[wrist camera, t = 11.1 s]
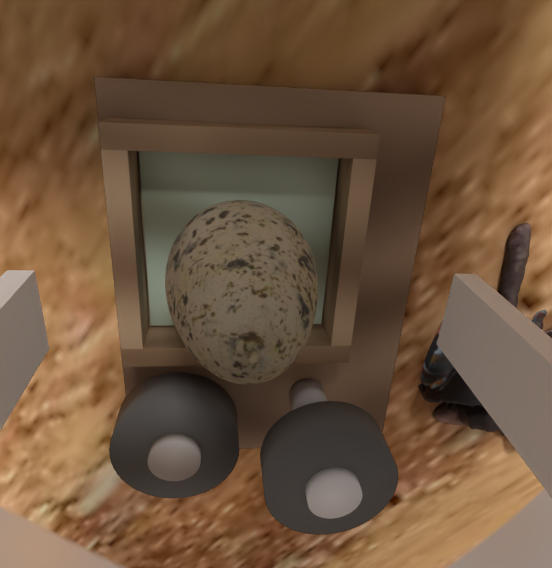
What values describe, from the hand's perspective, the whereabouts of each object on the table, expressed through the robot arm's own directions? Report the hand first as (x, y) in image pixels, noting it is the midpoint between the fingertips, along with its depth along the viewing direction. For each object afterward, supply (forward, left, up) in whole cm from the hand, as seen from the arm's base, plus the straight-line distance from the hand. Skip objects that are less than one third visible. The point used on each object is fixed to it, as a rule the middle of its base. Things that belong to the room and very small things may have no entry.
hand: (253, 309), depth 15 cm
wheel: (+10, +4, -4) cm, 11 cm away
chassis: (+4, +1, -9) cm, 10 cm away
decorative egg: (+1, 0, -8) cm, 8 cm away
